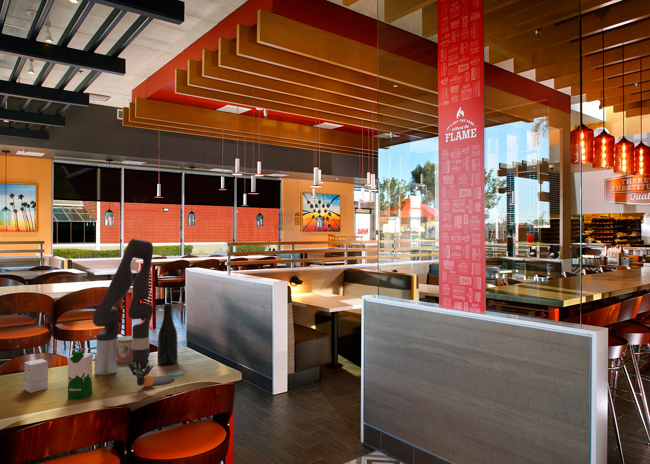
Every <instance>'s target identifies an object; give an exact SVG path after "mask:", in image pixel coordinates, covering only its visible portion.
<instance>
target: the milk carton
mask: <svg viewBox="0 0 650 464" xmlns="http://www.w3.org/2000/svg"><path fill="white" fill-rule="evenodd" d="M93 359H94V353H93V352H91V353H87V352H86V353H84V350H77V351H73V352H72V355H70V356H68V357H66V361H67V400H85V399H87V398H89V396H91V395H92V394H93Z"/></svg>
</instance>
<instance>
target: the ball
mask: <svg viewBox="0 0 650 464" xmlns="http://www.w3.org/2000/svg"><path fill="white" fill-rule="evenodd" d="M153 377H154V376H153V375H152V374H148V375H147V376H144V384H143V385H142V386H143V387H145V388H149V387H152V386H151V385H152V384H153V382H154V378H153Z"/></svg>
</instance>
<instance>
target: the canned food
mask: <svg viewBox="0 0 650 464" xmlns="http://www.w3.org/2000/svg"><path fill="white" fill-rule="evenodd" d="M132 360H133V358H132V335H124V336H120V337H118V338H117V362H121V363H127V362H128V363H131V362H132Z"/></svg>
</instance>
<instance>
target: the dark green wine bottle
mask: <svg viewBox="0 0 650 464" xmlns="http://www.w3.org/2000/svg"><path fill="white" fill-rule="evenodd" d="M174 323H175V322H174V320H173V305H172V303H170V302H165V303H164V305H163V317H162V323H161V325H160V328H159V330H158V334H157V365H159V366H173V365H176V364H177V363H178V359H179V358H178V357H179V356H178V354H179V353H178V350H179V349H178V332H177V329H176V326H175V324H174Z"/></svg>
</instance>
